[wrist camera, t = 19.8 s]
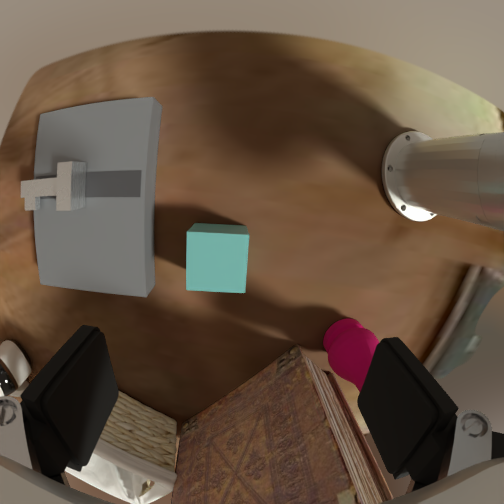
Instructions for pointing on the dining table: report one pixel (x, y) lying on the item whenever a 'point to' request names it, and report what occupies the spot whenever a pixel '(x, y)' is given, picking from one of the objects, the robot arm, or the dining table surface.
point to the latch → (58, 188)
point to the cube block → (217, 258)
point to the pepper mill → (350, 350)
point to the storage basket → (133, 454)
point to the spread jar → (13, 369)
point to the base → (100, 197)
